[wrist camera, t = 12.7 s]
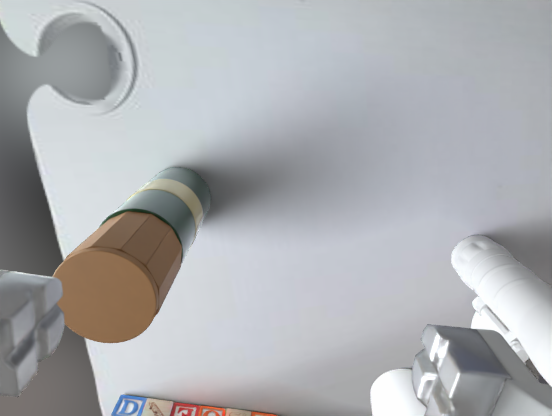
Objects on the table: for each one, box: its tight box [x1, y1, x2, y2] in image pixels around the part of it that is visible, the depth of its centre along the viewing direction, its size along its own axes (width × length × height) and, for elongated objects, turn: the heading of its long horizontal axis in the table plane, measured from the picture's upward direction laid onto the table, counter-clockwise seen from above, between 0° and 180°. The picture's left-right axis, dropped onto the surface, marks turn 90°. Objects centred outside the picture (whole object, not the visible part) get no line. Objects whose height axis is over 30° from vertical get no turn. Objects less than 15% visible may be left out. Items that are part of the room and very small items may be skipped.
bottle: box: [99, 167, 211, 265], centre depth 31 cm, size 6×6×17 cm
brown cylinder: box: [53, 211, 182, 343], centre depth 25 cm, size 6×6×6 cm
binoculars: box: [451, 235, 552, 387], centre depth 34 cm, size 17×5×18 cm, turn 2°
